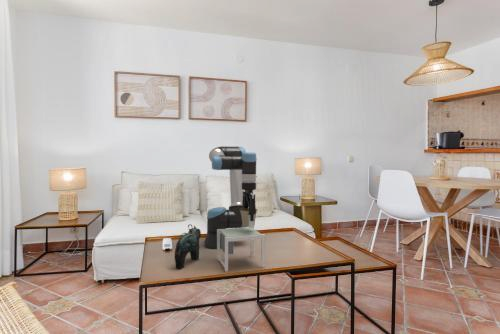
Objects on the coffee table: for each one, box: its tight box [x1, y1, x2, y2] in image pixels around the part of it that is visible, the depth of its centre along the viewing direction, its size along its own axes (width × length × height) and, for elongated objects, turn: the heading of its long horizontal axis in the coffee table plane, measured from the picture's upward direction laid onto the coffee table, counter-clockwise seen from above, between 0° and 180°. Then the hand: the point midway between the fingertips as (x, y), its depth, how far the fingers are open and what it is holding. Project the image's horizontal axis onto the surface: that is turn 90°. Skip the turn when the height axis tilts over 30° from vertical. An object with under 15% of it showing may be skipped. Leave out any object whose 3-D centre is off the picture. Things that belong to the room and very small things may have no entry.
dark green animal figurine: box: [174, 223, 202, 270], centre depth 164 cm, size 20×6×20 cm, turn 159°
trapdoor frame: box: [216, 226, 266, 272], centre depth 164 cm, size 20×18×16 cm
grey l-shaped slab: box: [220, 228, 261, 255], centre depth 164 cm, size 18×14×9 cm
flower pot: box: [240, 207, 258, 227], centre depth 165 cm, size 9×9×9 cm
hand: (248, 225), depth 165 cm, fingers closed on flower pot, 8 cm apart
